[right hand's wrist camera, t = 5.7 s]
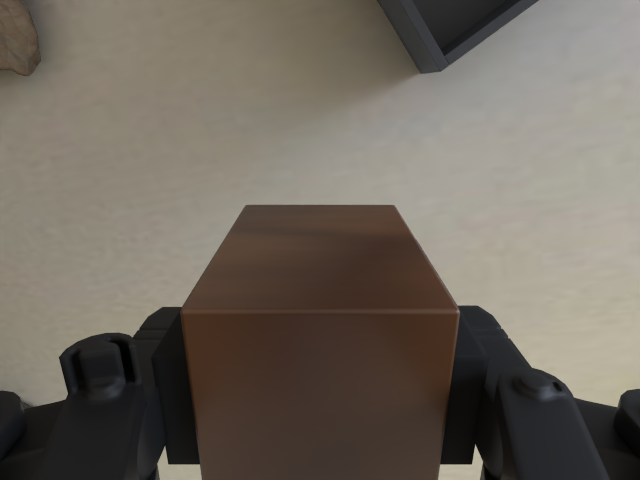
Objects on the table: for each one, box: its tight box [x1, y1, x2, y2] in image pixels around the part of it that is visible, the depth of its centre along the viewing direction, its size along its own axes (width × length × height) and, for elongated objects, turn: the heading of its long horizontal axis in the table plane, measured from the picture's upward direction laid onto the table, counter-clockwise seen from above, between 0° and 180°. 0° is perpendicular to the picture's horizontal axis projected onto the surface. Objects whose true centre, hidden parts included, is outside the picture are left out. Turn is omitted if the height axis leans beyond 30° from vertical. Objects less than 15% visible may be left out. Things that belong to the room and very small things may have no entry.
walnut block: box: [180, 205, 460, 480], centre depth 12 cm, size 5×5×7 cm
